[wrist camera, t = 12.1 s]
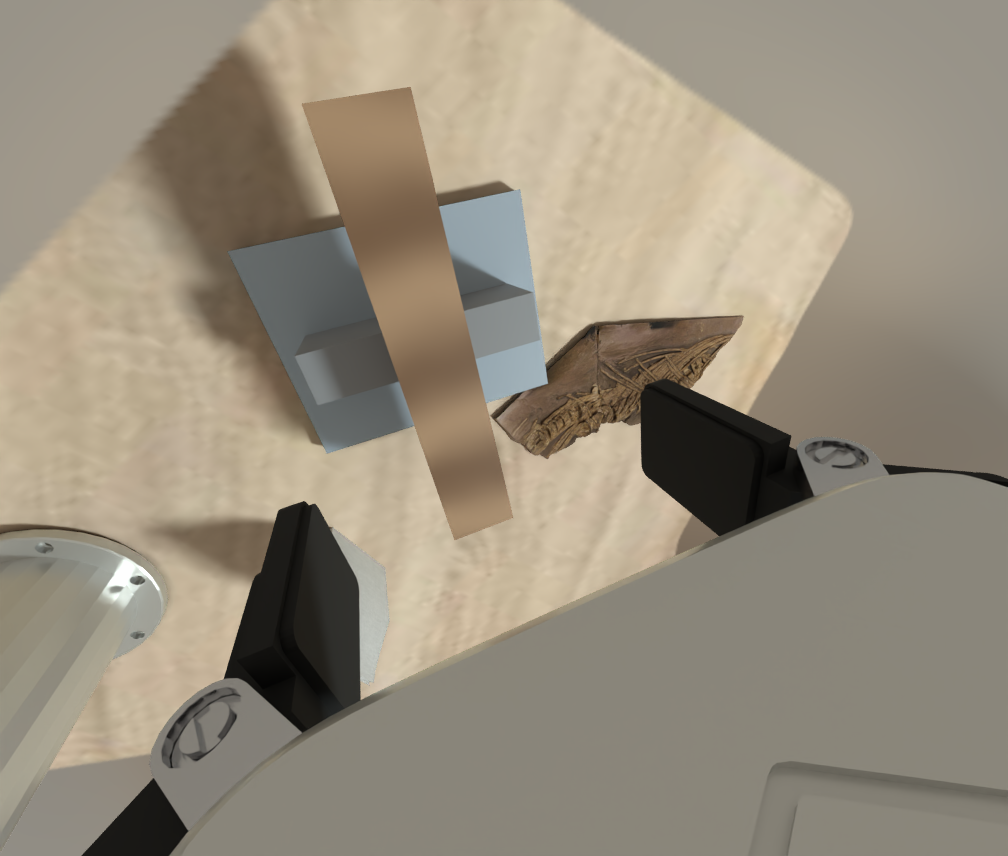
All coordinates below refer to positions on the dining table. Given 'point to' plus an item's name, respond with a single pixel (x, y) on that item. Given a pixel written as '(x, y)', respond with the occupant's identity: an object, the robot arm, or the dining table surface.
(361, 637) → the grey pointed block
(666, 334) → the wooden fragment
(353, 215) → the walnut bar
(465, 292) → the ridge stand
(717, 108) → the dining table surface
